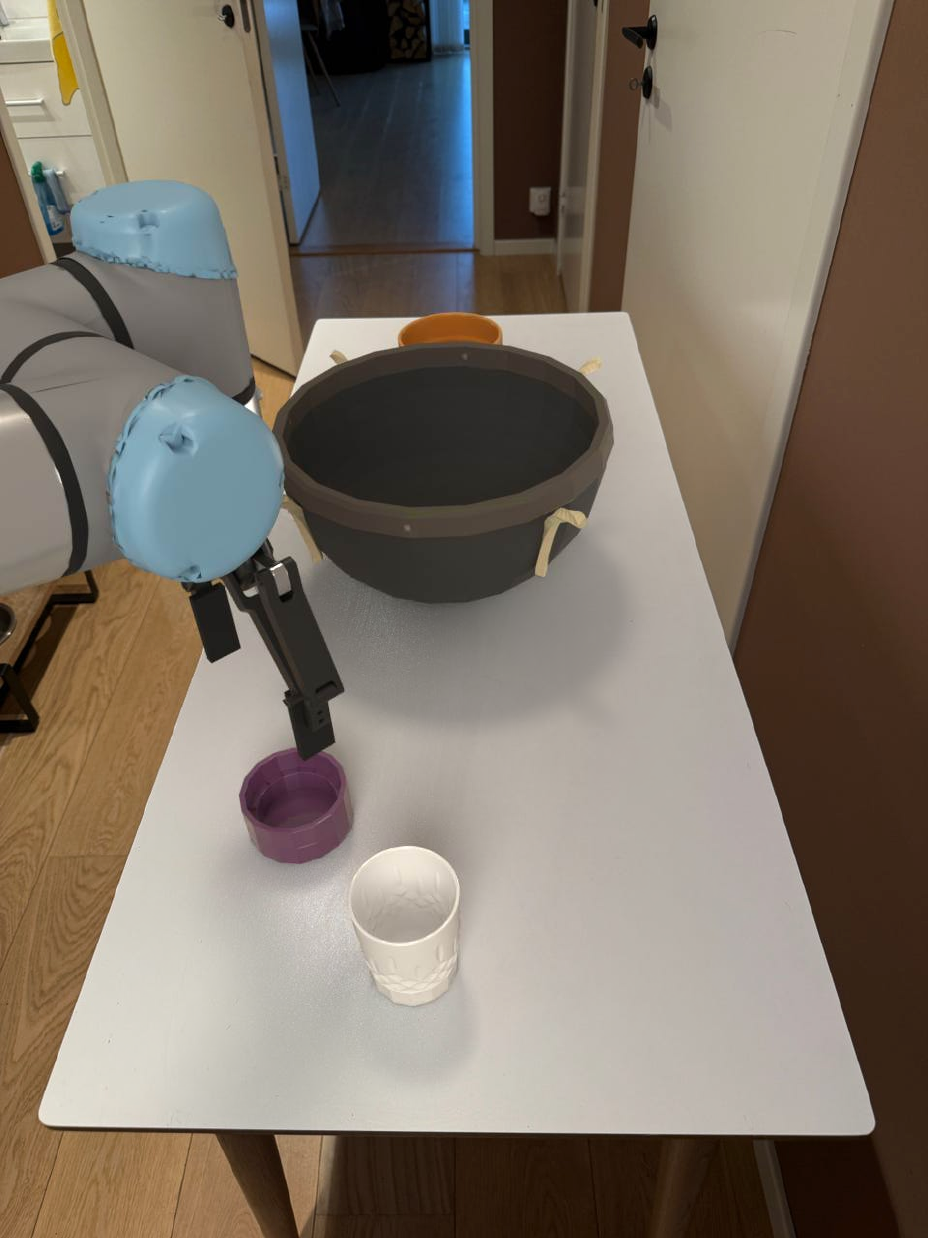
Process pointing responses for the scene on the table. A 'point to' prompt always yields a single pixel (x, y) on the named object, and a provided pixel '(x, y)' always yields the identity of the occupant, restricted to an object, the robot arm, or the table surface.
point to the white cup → (407, 922)
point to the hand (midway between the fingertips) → (268, 699)
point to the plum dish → (296, 806)
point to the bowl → (444, 466)
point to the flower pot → (451, 329)
